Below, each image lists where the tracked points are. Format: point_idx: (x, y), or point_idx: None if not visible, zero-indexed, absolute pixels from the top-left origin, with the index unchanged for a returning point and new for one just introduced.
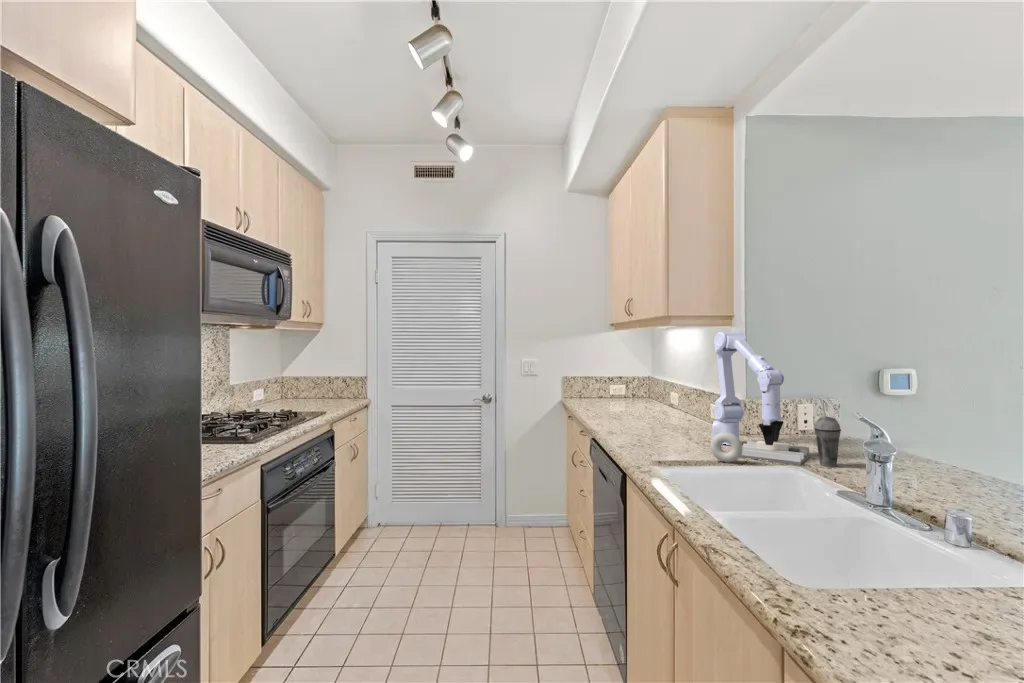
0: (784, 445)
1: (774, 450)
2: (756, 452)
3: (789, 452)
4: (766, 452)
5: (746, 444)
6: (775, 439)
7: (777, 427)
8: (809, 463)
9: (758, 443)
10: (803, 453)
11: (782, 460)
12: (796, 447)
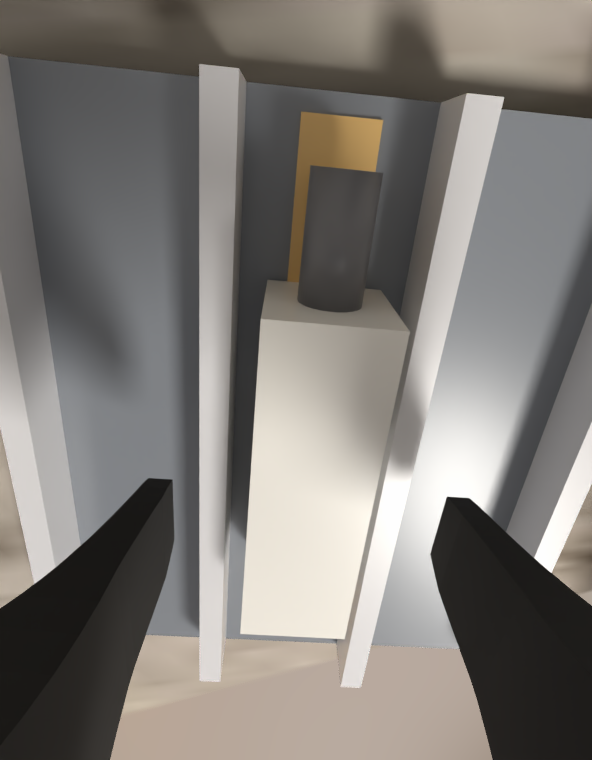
0: (396, 377)
1: (417, 442)
2: (550, 557)
3: (453, 287)
4: (578, 492)
5: (221, 659)
6: (166, 517)
7: (81, 681)
8: (517, 28)
9: (345, 612)
10: (490, 96)
11: None
12: (2, 235)
